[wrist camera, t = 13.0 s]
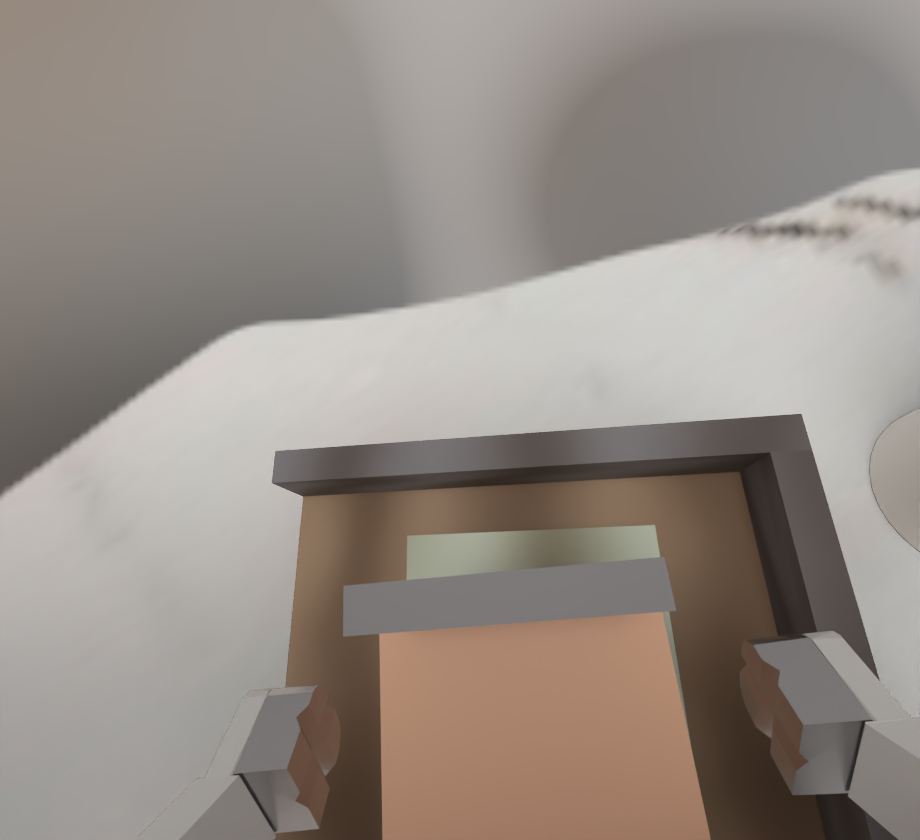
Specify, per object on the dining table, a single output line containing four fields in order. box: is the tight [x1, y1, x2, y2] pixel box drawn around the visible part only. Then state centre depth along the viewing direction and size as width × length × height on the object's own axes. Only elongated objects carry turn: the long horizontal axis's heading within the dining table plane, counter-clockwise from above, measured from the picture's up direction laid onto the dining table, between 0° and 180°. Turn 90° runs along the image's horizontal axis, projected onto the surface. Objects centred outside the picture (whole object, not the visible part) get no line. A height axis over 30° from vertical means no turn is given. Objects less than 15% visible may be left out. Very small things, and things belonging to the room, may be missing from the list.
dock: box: [272, 414, 898, 840], centre depth 17 cm, size 18×15×6 cm
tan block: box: [343, 557, 711, 840], centre depth 11 cm, size 5×5×12 cm
